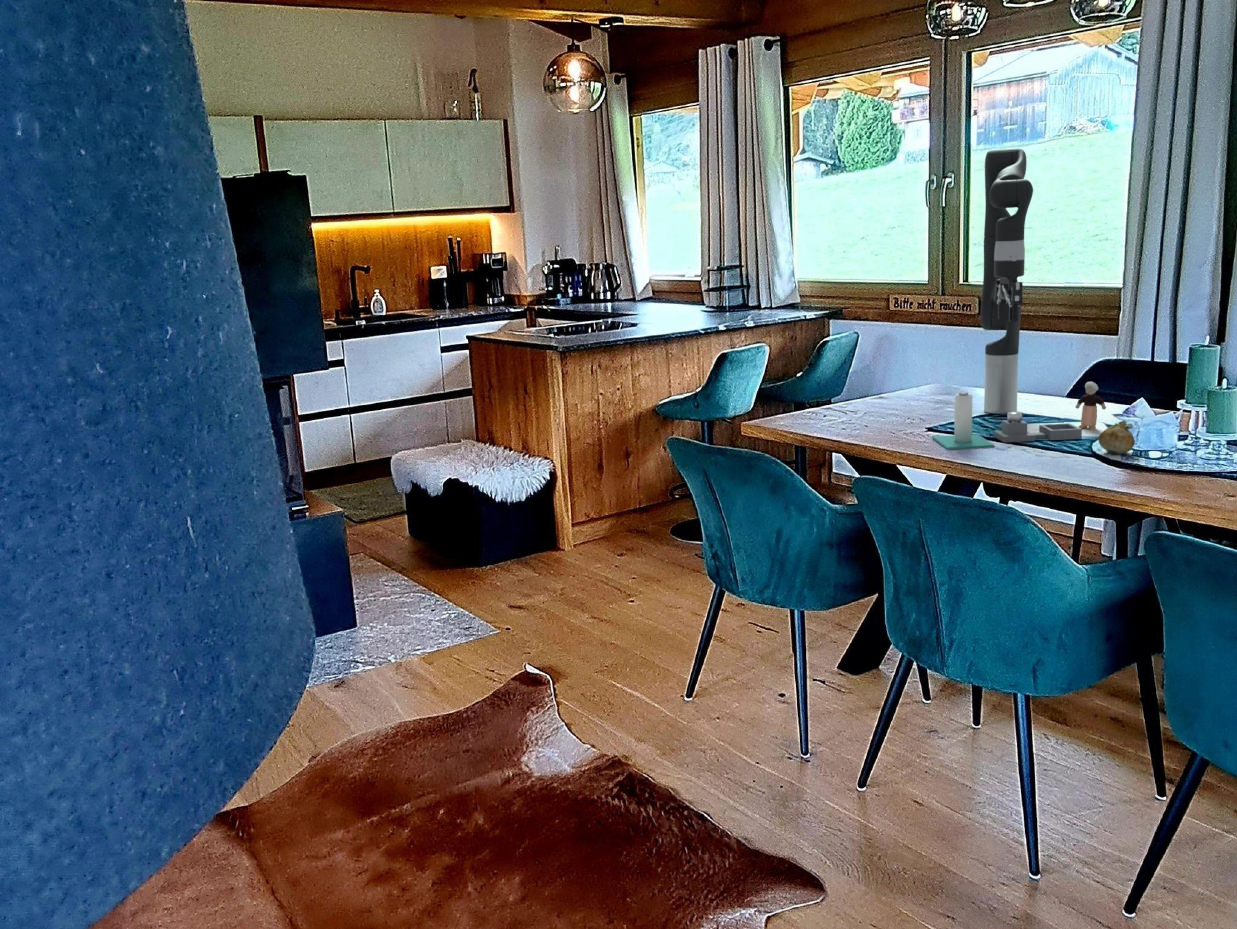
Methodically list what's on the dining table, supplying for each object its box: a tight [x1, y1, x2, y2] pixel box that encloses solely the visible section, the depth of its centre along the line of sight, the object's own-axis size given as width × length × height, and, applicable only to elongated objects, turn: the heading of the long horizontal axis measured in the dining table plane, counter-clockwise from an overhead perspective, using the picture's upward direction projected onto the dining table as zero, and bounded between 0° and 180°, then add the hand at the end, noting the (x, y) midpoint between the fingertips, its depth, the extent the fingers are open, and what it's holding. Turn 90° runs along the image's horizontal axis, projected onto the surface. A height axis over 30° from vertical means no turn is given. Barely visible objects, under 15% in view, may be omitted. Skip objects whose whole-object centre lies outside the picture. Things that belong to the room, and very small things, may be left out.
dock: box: [993, 419, 1083, 443], centre depth 281 cm, size 8×20×4 cm, turn 89°
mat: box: [932, 433, 996, 451], centre depth 280 cm, size 14×12×1 cm
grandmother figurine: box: [1075, 381, 1107, 430], centre depth 287 cm, size 8×4×13 cm, turn 62°
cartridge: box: [953, 391, 973, 442], centre depth 279 cm, size 4×4×13 cm
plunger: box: [1006, 411, 1023, 423], centre depth 281 cm, size 4×4×4 cm
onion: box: [1098, 420, 1136, 455], centre depth 259 cm, size 8×8×8 cm
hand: (1007, 320), depth 285 cm, fingers open, 8 cm apart
